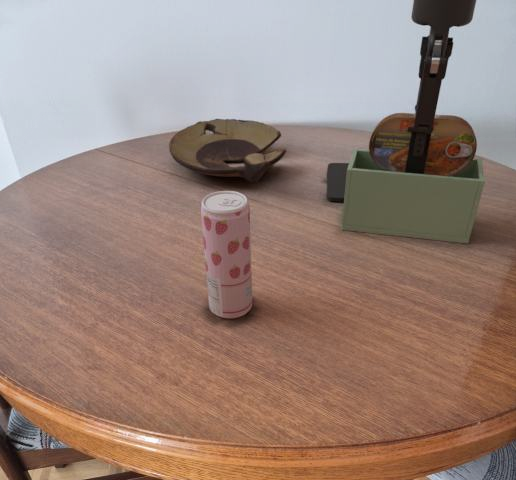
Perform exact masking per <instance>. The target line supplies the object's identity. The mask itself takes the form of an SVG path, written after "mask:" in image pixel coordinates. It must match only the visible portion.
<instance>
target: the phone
mask: <svg viewBox="0 0 516 480" xmlns="http://www.w3.org/2000/svg"><path fill="white" fill-rule="evenodd" d="M348 165H349V162H330V163H328V164H327V169H326V199H327V201H330V202H340V203H341V202H343V203H344V197H345V186H346V176H347V168H348Z"/></svg>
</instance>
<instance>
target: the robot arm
mask: <svg viewBox="0 0 516 480" xmlns="http://www.w3.org/2000/svg"><path fill="white" fill-rule="evenodd" d="M476 5H477V0H413V2H412V10H411V18H410V19H411V21H412V22H413V23H415V24H417V25H420V26H428V27H430V28H429V34H428V35H427V36H424V35H423V36H422V37H421V43H420V49H419V50H420V51H419V55H420V60H419V67H418V78H419V79H420V80H419V86H418V93H417V99H416V103H415V106H414V114H416V116H415V122H414V125H413V127H408V131H407V132H411V138H410V144H409V150H408V156H407V162H406V168H405V173H415V174H424V169H425V164H426V159H427V154H428V148H429V143H430V138H431V133H432V131H433V128H434V127H433V123H434V118H435V115H436V113H437V108H438V102H439V98H440V92H441V86H442V82H443V80H444V79H445V78H446V76H447V75H446V74H447V68H448V64H449V59H450V57H451V56H452V54H453V49H454V37H449V34H450V29H451V28H453V27H457V28H459V27H464V26H467V25H469V24H470V23H471V22H472V20H473V18H474V13H475V8H476Z"/></svg>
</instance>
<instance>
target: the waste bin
mask: <svg viewBox="0 0 516 480" xmlns="http://www.w3.org/2000/svg"><path fill="white" fill-rule="evenodd" d="M351 153H352V154H351V156H350V160H349V162H348V163H349V165H348V168H347V176H346V186H345V197H344V202H343V208H342V219H341V230H342V231H350V232H359V233H366V234H367V233H368V234H377V235H386V236H395V237H404V238H413V239H422V240H431V241H441V242H449V243H457V244H458V243H459V244H467V245H468V244H469V243H470V239H471V235H472V231H473V227H474V224H475V220H476V216H477V212H478V210H479V209H478V208H479V205H480V202H481V197H482V195H483V191H484V187H485V183H486V180H485V179H486V178H485V173H484V166H483V159H482V158H478V157H477V158H476V157H474V158H473V160H472V162H471V163H470V164H469V166H468V167H467V168H466V169H464V170H463V171H462V172H460V173H458V174H456V175H454V176H451V177H450V176H438V175H427V174H415V173H404V172H392V171H382V170H381V169H379V168H378V167H377V166H376V165H375V164H374V162H373V161H372V159H371V157H370V153H369V149H365V148H364V149H363V148H362V149H361V148H353V150H352V152H351Z"/></svg>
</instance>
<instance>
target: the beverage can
mask: <svg viewBox="0 0 516 480" xmlns="http://www.w3.org/2000/svg"><path fill="white" fill-rule="evenodd" d="M200 215H201V217H200V218H201V229H202V239H203V242H202V243H203V250H204V263H205V277H206V288H207V299H208V308H209V310H210V311H211V313H212V314H214V315H216V316H217V317H219V318H223V319H237V318H240V317H243V316H245V315H246V314H247V313H248V312H250V310H251V309H252V307H253V285H252V284H253V278H252V277H253V276H252V275H253V274H252V246H251V245H252V244H251V243H252V241H251V211H250V204H249V199H248V198H247V197H246V195H245V194H243V193H241V192H238V191H234V190H219V191H215V192H214V191H213V192H211V193H209V194H207V195H205V196H204V197H203V198H202V200H201V207H200Z"/></svg>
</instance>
